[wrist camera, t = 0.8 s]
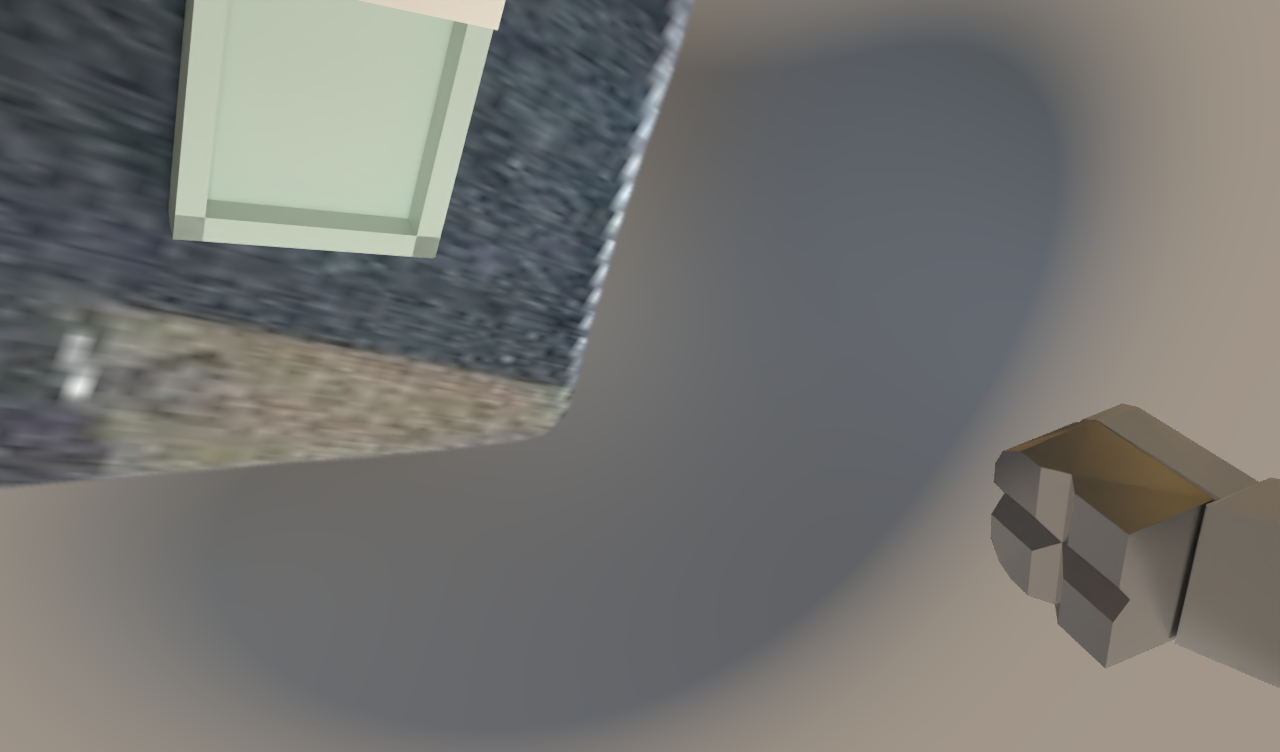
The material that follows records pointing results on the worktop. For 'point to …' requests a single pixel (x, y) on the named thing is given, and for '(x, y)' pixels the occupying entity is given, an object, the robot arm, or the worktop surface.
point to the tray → (320, 124)
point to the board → (453, 10)
